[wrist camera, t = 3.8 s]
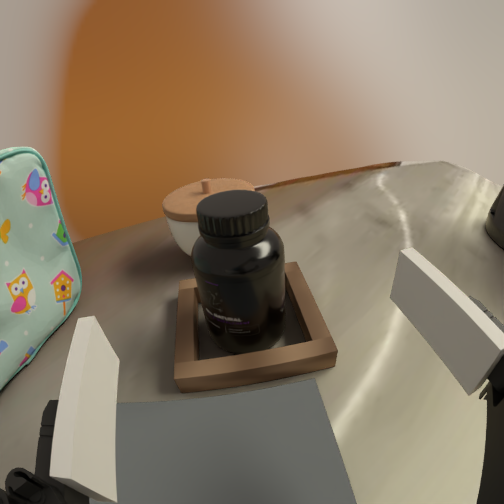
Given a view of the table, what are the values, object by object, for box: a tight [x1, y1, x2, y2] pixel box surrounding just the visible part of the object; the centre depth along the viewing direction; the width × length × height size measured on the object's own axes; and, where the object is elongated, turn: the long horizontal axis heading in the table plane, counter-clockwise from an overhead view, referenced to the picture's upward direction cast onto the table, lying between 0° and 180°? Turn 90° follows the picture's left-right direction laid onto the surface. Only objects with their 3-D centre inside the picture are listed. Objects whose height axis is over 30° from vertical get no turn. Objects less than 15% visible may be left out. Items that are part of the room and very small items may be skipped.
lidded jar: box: [162, 178, 254, 256], centre depth 35 cm, size 11×11×9 cm
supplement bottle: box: [191, 190, 286, 354], centre depth 23 cm, size 7×7×12 cm
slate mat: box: [89, 378, 357, 504], centre depth 14 cm, size 20×14×1 cm
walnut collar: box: [174, 262, 338, 393], centre depth 26 cm, size 12×12×2 cm
